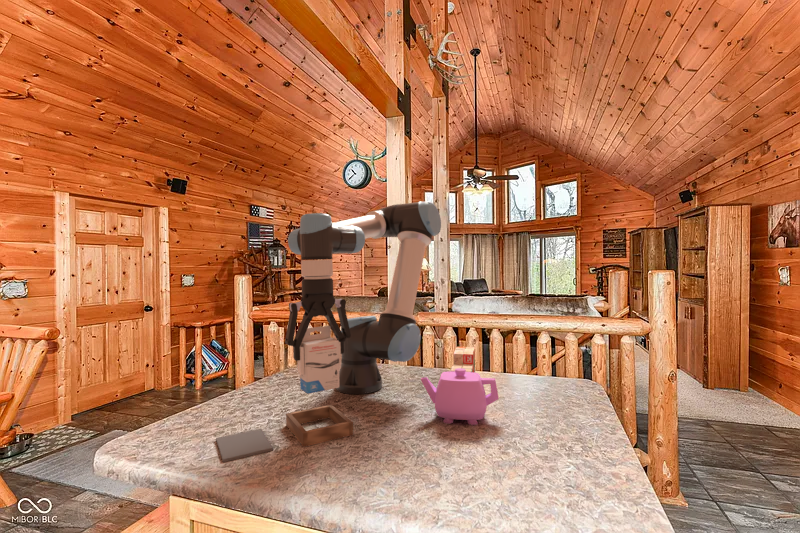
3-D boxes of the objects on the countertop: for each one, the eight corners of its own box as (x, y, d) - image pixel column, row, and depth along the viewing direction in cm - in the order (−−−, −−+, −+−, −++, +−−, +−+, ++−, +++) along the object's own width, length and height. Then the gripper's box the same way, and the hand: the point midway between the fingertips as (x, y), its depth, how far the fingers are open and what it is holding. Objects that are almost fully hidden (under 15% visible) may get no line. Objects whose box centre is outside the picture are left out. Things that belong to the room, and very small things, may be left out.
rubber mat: (261, 430, 96) (261, 428, 96) (273, 450, 86) (273, 447, 86) (216, 440, 91) (216, 437, 91) (223, 462, 81) (223, 459, 81)
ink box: (307, 394, 92) (305, 332, 92) (299, 389, 97) (298, 329, 96) (340, 387, 97) (339, 327, 97) (332, 382, 101) (330, 325, 101)
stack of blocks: (471, 403, 114) (471, 361, 114) (450, 402, 116) (449, 360, 116) (475, 382, 135) (475, 346, 135) (457, 381, 137) (456, 345, 137)
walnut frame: (331, 415, 105) (331, 404, 105) (353, 434, 93) (353, 422, 93) (286, 425, 99) (286, 413, 99) (303, 447, 87) (303, 433, 87)
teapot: (497, 411, 108) (496, 364, 108) (500, 429, 96) (500, 377, 96) (424, 407, 111) (423, 362, 111) (418, 424, 99) (417, 374, 99)
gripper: (351, 275, 105) (353, 360, 106) (268, 279, 94) (271, 374, 95) (363, 276, 99) (365, 366, 99) (276, 280, 88) (279, 382, 88)
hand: (319, 370), depth 97 cm, fingers closed on ink box, 8 cm apart
